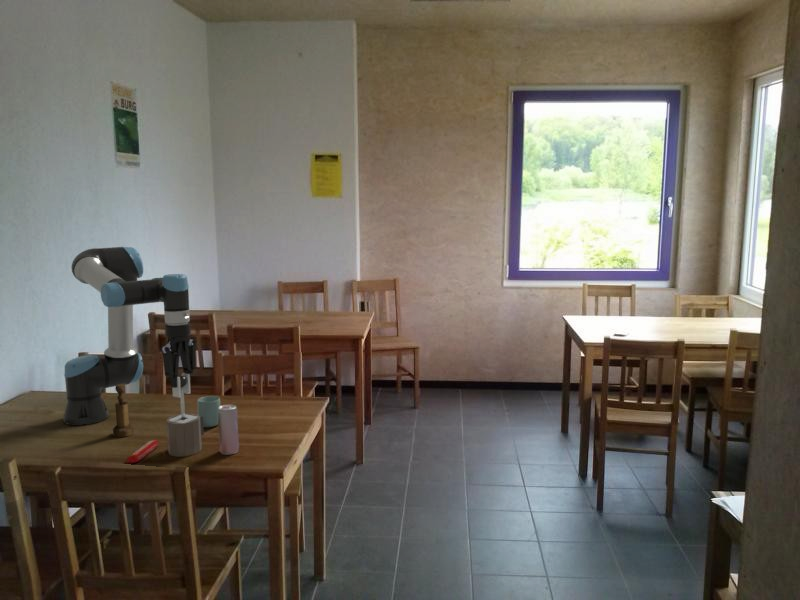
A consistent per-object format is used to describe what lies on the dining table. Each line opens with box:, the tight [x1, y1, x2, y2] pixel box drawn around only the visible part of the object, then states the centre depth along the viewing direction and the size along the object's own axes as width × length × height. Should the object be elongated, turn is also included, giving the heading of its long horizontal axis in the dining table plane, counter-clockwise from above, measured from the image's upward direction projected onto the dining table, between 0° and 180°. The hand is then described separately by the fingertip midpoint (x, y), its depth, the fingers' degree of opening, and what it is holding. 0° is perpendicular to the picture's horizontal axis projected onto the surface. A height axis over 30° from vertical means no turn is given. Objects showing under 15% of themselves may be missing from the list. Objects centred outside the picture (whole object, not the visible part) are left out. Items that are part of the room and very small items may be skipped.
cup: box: [196, 395, 221, 428], centre depth 229 cm, size 8×8×10 cm
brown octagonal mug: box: [165, 413, 205, 458], centre depth 207 cm, size 10×13×11 cm
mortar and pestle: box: [112, 384, 134, 438], centre depth 221 cm, size 7×6×18 cm
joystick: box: [178, 375, 187, 420], centre depth 204 cm, size 7×7×19 cm
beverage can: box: [217, 404, 240, 456], centre depth 204 cm, size 6×6×15 cm
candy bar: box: [126, 439, 159, 464], centre depth 203 cm, size 16×4×3 cm, turn 175°
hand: (181, 394), depth 204 cm, fingers closed on joystick, 4 cm apart
